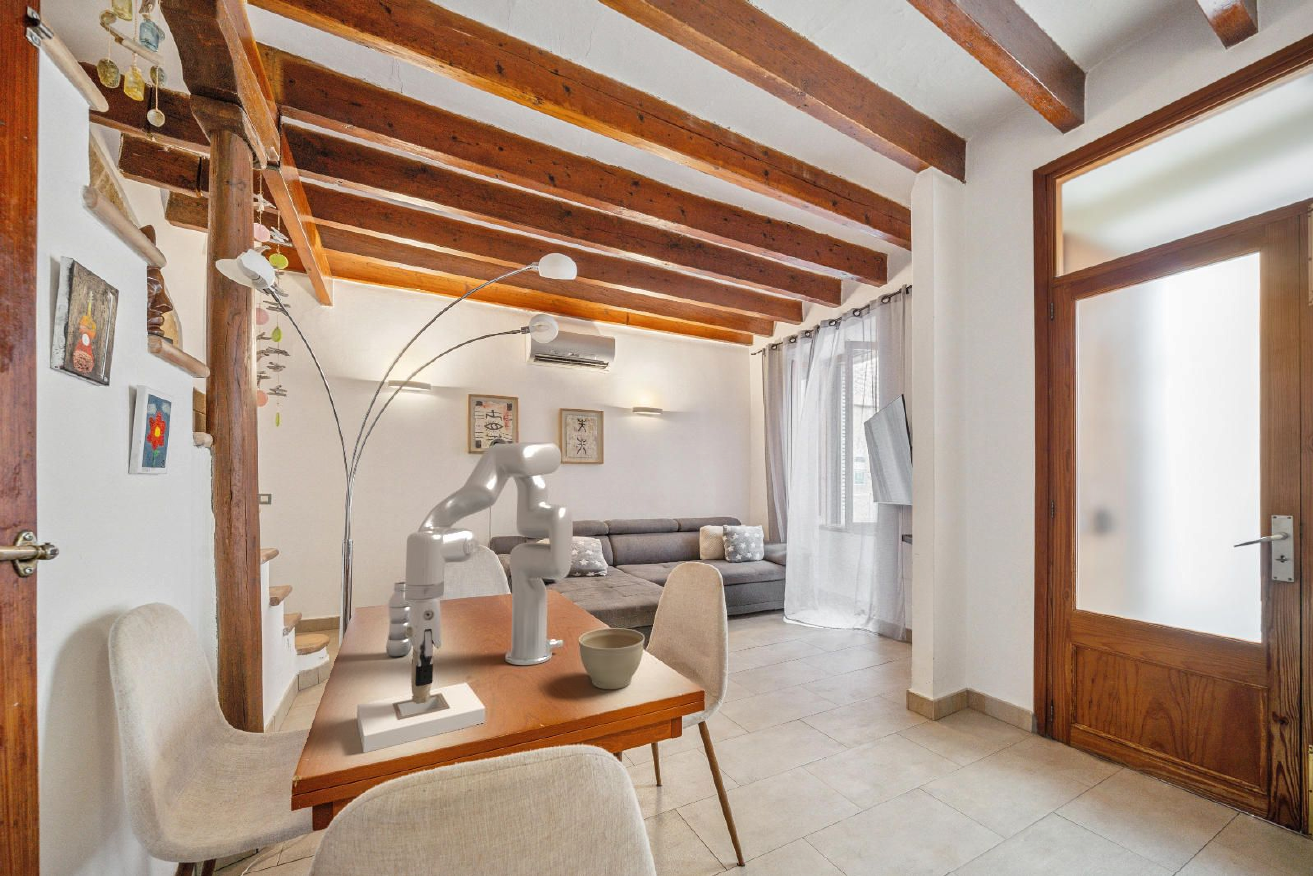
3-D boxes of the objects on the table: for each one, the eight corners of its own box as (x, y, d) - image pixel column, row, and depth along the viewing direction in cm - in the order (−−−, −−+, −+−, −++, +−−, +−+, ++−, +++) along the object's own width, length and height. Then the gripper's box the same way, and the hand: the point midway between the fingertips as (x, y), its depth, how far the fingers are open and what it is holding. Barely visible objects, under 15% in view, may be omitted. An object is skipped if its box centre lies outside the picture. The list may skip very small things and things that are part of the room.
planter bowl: (571, 675, 136) (572, 632, 137) (631, 667, 142) (631, 625, 143) (587, 700, 121) (588, 651, 122) (654, 690, 127) (654, 643, 128)
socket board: (465, 696, 124) (466, 681, 124) (485, 723, 110) (485, 707, 110) (356, 719, 112) (357, 703, 112) (363, 753, 98) (364, 735, 99)
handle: (430, 706, 109) (432, 630, 110) (399, 705, 109) (402, 630, 110) (441, 696, 113) (443, 624, 114) (412, 696, 114) (414, 623, 115)
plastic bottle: (391, 651, 154) (393, 581, 156) (415, 651, 155) (417, 580, 156) (381, 659, 148) (384, 585, 149) (407, 658, 148) (409, 585, 150)
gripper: (452, 596, 108) (449, 690, 107) (435, 582, 122) (433, 665, 121) (411, 601, 104) (408, 699, 102) (399, 586, 118) (396, 672, 116)
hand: (421, 680), depth 112 cm, fingers closed on handle, 4 cm apart
